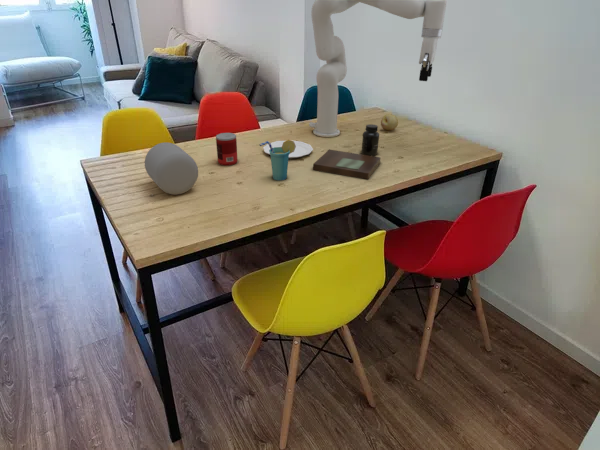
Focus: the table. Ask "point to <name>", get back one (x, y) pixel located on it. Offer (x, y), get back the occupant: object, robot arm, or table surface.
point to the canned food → (226, 149)
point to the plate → (298, 152)
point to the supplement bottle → (370, 140)
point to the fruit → (389, 122)
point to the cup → (280, 158)
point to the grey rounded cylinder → (171, 168)
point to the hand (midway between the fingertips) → (424, 78)
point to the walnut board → (347, 164)
